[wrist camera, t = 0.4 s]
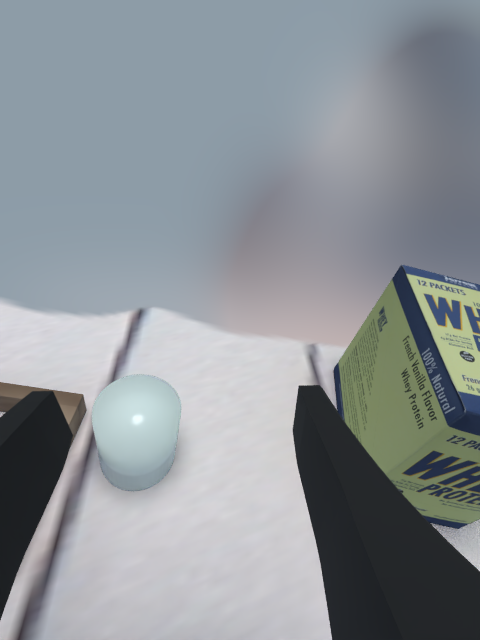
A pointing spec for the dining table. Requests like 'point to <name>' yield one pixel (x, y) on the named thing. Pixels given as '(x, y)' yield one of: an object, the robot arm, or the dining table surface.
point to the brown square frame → (70, 403)
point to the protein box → (420, 392)
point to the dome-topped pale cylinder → (136, 430)
